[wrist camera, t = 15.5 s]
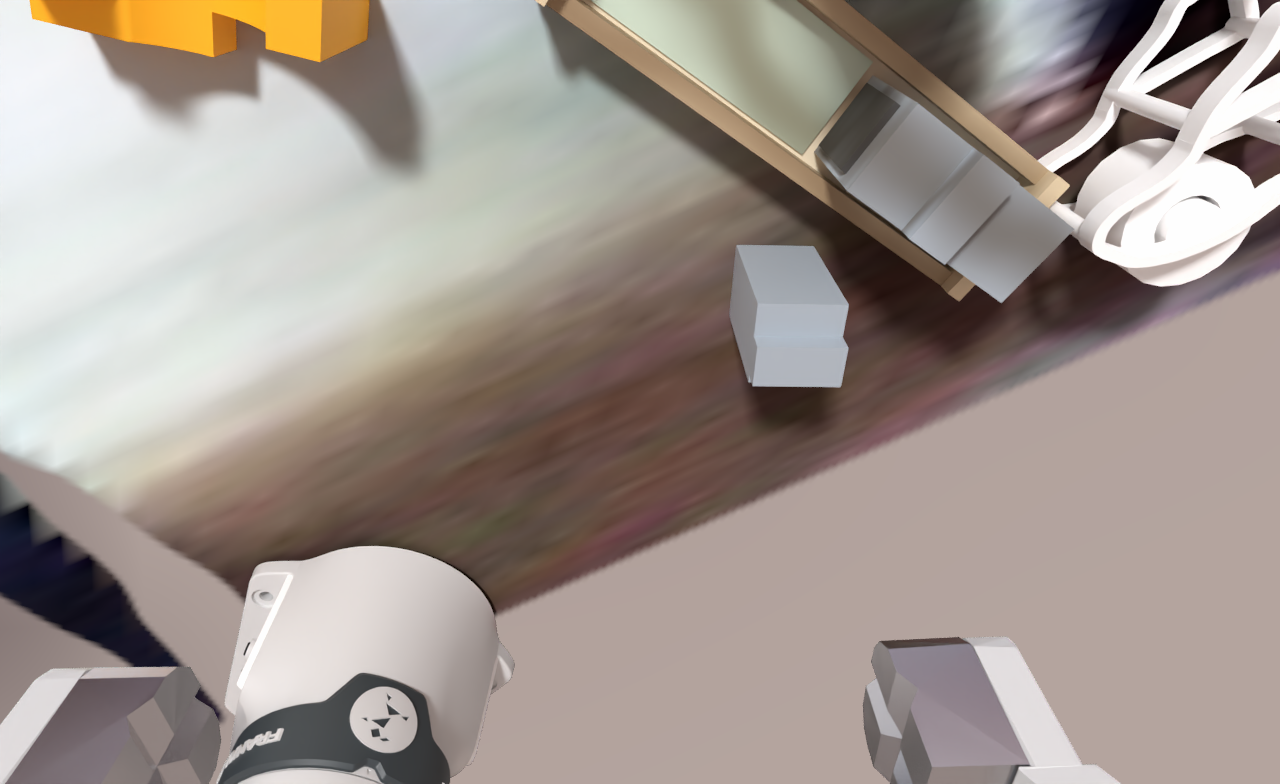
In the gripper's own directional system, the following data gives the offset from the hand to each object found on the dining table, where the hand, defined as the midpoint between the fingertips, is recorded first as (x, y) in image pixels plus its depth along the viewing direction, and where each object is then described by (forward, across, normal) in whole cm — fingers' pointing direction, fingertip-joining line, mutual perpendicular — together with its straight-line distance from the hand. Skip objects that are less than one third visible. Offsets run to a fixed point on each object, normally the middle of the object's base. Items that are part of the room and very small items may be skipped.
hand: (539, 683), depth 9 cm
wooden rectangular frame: (+31, -9, -1) cm, 33 cm away
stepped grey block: (+31, -9, +9) cm, 34 cm away
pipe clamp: (+32, +16, -5) cm, 36 cm away
